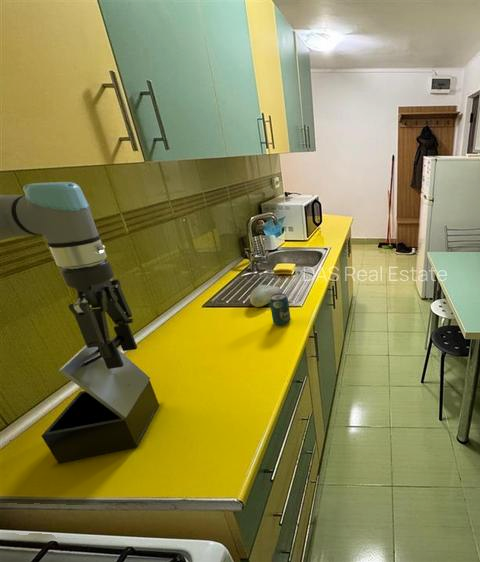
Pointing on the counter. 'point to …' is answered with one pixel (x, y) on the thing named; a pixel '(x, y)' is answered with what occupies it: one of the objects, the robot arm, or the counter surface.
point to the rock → (263, 294)
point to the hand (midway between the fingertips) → (123, 357)
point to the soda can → (280, 309)
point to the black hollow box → (98, 427)
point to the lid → (107, 378)
